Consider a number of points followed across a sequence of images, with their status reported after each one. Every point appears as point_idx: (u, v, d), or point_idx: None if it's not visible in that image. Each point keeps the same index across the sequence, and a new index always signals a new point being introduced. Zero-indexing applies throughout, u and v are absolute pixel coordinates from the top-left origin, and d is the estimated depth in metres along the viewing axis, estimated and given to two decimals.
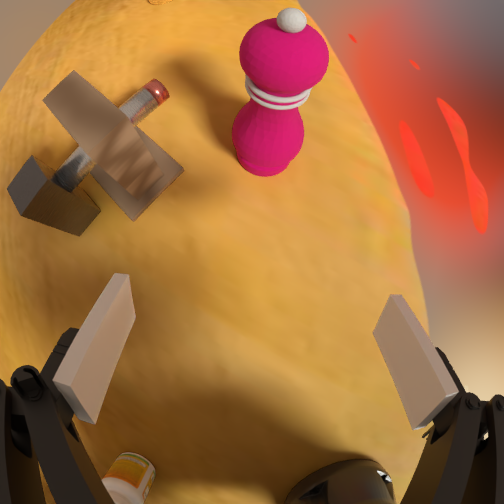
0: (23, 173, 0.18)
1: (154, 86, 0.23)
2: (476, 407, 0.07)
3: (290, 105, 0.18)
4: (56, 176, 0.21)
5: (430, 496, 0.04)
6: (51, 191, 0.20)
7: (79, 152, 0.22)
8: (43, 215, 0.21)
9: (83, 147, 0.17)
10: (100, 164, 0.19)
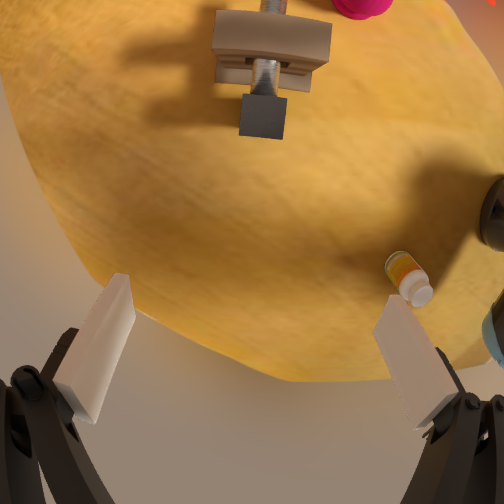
0: (249, 111, 0.23)
1: None
2: (476, 407, 0.07)
3: None
4: None
5: (430, 496, 0.04)
6: None
7: (267, 67, 0.24)
8: None
9: (319, 58, 0.19)
10: (323, 63, 0.21)
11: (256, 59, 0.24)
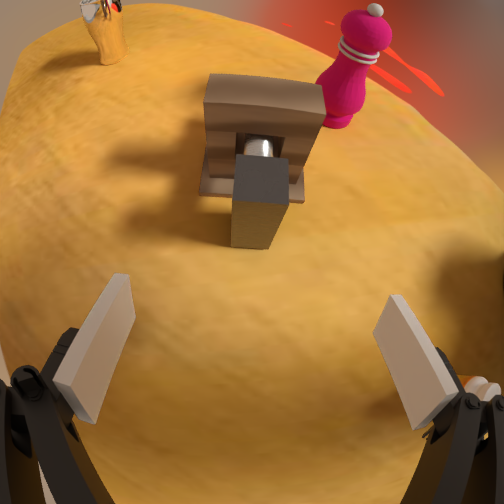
0: (245, 172, 0.20)
1: None
2: (476, 407, 0.07)
3: (376, 59, 0.25)
4: None
5: (430, 496, 0.04)
6: None
7: (260, 146, 0.25)
8: None
9: (316, 111, 0.21)
10: (319, 129, 0.23)
11: (247, 141, 0.25)
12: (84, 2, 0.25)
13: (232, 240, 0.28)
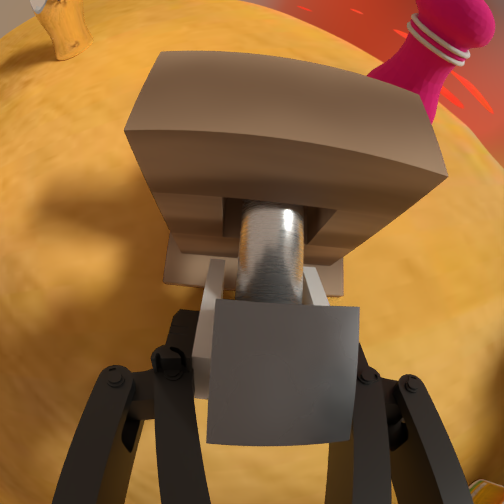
0: (240, 364, 0.07)
1: None
2: (373, 381, 0.09)
3: None
4: None
5: (349, 493, 0.05)
6: None
7: (279, 229, 0.11)
8: None
9: (430, 167, 0.07)
10: None
11: (248, 211, 0.12)
12: None
13: None
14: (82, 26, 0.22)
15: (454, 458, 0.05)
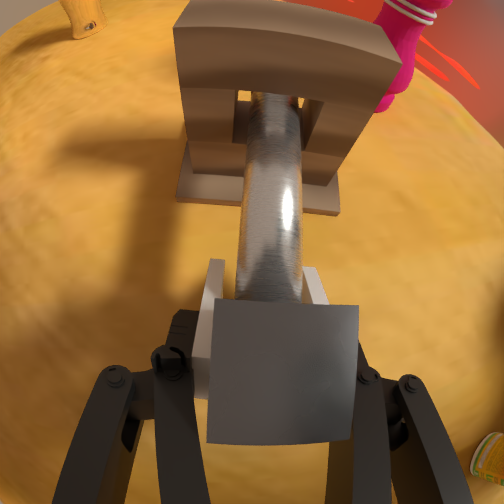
0: (240, 363, 0.07)
1: None
2: (373, 380, 0.09)
3: (432, 20, 0.14)
4: None
5: (349, 494, 0.05)
6: None
7: (278, 229, 0.11)
8: None
9: (386, 56, 0.09)
10: (384, 92, 0.11)
11: (246, 211, 0.12)
12: None
13: None
14: (99, 8, 0.24)
15: (454, 458, 0.05)
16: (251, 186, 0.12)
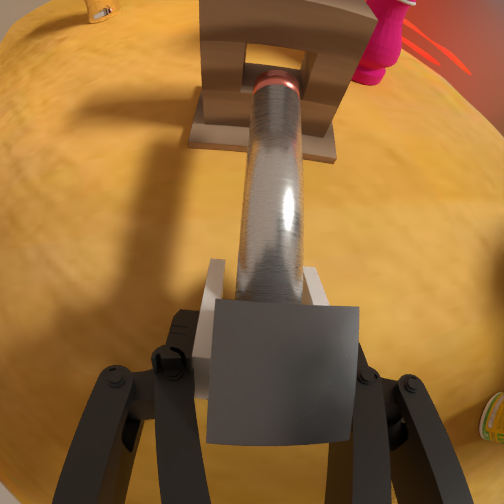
0: (240, 364, 0.07)
1: (285, 78, 0.14)
2: (373, 381, 0.09)
3: None
4: None
5: (349, 493, 0.05)
6: None
7: (279, 229, 0.11)
8: None
9: (364, 15, 0.11)
10: (366, 45, 0.13)
11: (247, 211, 0.12)
12: None
13: None
14: None
15: (454, 458, 0.05)
16: (252, 186, 0.12)
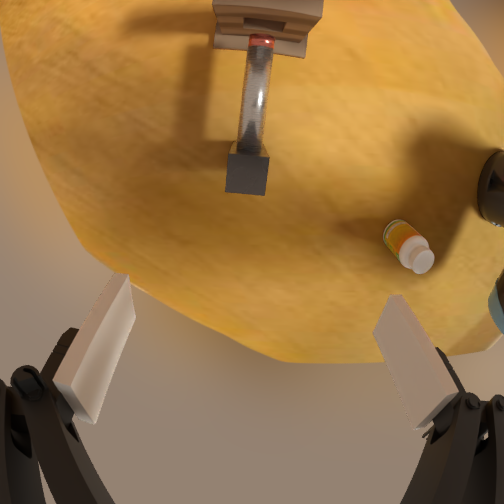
0: (234, 170, 0.27)
1: (265, 39, 0.23)
2: (476, 407, 0.07)
3: None
4: (248, 150, 0.29)
5: (430, 496, 0.04)
6: None
7: (253, 121, 0.28)
8: None
9: (313, 14, 0.18)
10: (316, 22, 0.20)
11: (242, 112, 0.28)
12: None
13: None
14: None
15: None
16: (244, 102, 0.27)
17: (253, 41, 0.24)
